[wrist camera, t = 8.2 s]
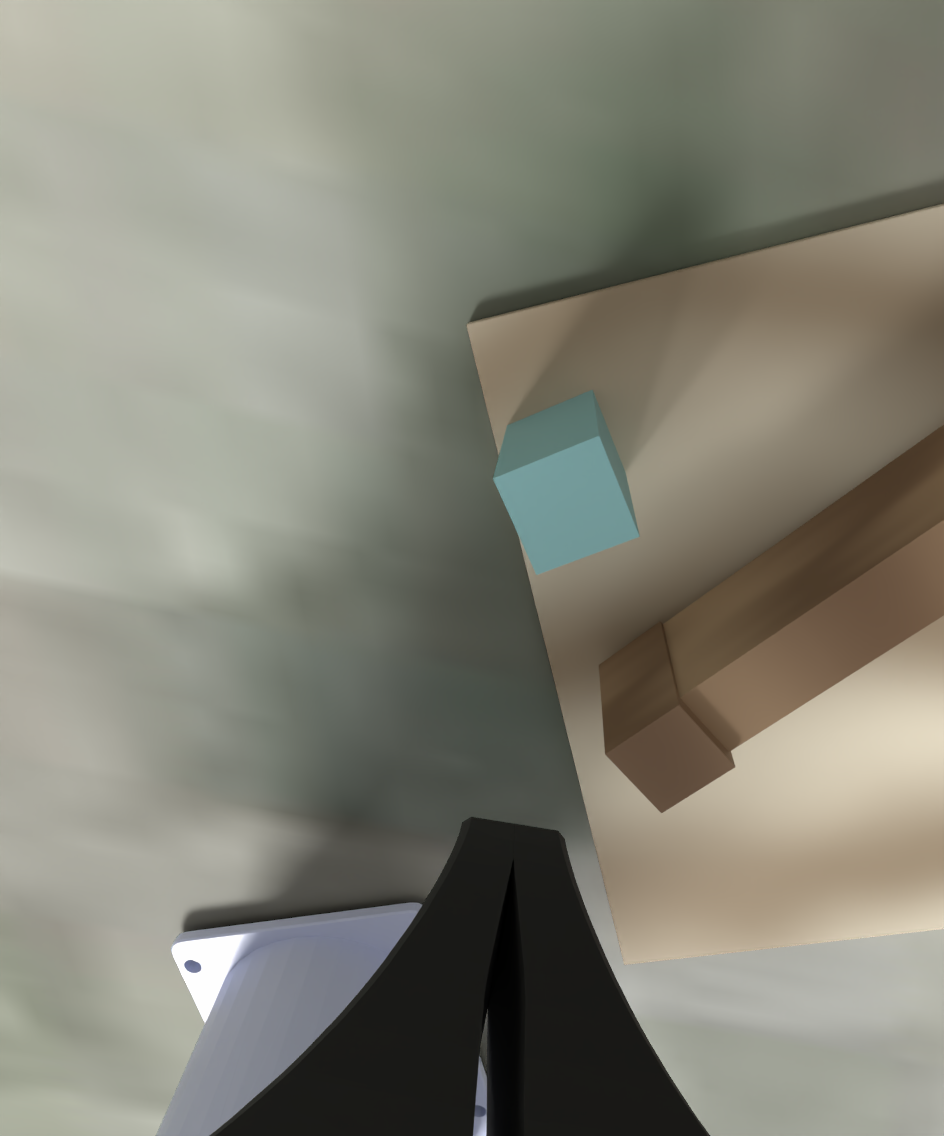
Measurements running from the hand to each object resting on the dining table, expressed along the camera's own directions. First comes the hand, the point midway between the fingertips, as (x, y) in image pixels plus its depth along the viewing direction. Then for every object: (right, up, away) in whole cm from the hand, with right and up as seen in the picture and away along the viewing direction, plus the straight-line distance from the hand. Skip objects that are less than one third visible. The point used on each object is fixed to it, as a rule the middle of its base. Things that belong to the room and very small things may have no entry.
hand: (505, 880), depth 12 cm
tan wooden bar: (+7, +5, +7) cm, 11 cm away
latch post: (+2, +7, +8) cm, 11 cm away
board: (+9, +3, +8) cm, 13 cm away
